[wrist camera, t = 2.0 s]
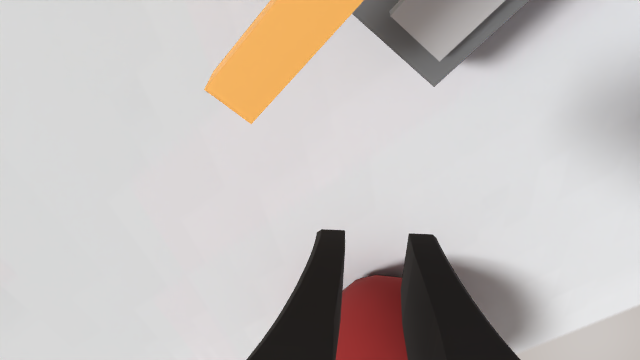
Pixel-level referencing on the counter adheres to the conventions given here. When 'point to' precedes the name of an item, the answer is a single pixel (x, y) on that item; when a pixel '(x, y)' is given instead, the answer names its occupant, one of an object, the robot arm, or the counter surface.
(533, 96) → the counter surface
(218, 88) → the clip
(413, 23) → the grey piece
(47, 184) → the counter surface
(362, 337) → the tomato
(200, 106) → the counter surface
